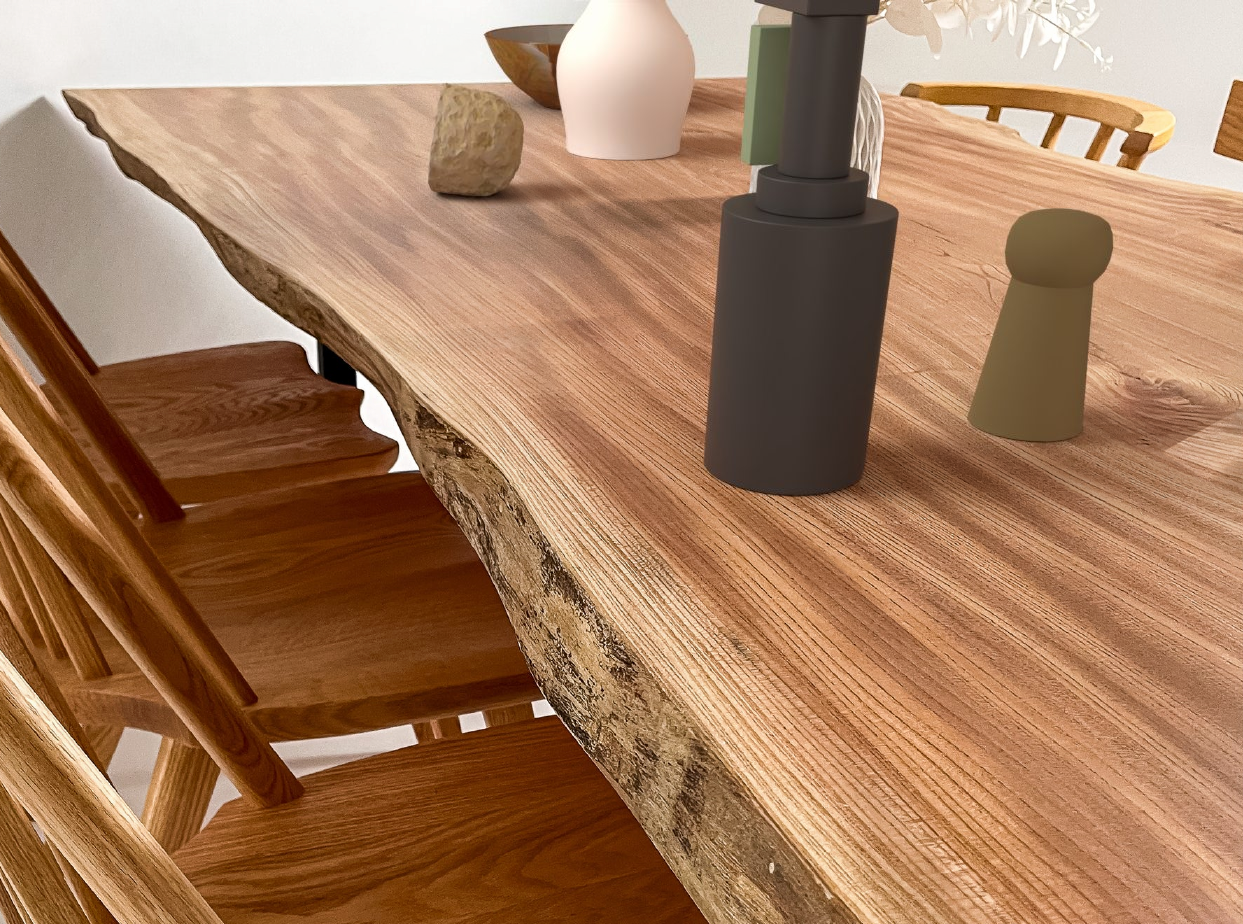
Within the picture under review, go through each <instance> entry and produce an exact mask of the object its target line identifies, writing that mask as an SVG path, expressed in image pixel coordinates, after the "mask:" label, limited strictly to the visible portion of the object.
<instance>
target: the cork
mask: <svg viewBox="0 0 1243 924" xmlns="http://www.w3.org/2000/svg"><path fill="white" fill-rule="evenodd" d="M1113 233H1114V232H1113V230H1112V227H1111V225H1110V223H1109V221H1107V220H1106V219H1105V218H1103V217H1102V216H1100V215H1097V214H1094V213H1090V212H1088V211H1084V210H1080V209H1073V208H1063V207H1062V208H1060V207H1059V208H1058V207H1057V208H1056V207H1054V208H1053V207H1052V208H1043V209H1042V208H1041V209H1036V210H1035V209H1034V210H1031V211H1029V212H1026V213H1024V214H1022V215H1020V216H1018V218H1017V219H1016V220H1015V222H1014V223H1013V224H1012V225H1011V227H1010V230H1009V232H1008V234H1007V237H1006V242H1005V249H1004V260H1005V266H1006V267H1007V270H1008V272H1009V273H1010V276H1011V277H1010V279H1009V283H1008V287H1007V290H1006V293H1005V296H1004V299H1003V302H1002V305H1001V309H1000V312H999V314H998V318H997V321H996V324H995V328H994V331H993V333H992V337H991V340H990V343H989V347H988V350H987V352H986V356H985V360H984V363H983V366H982V368H981V372H980V376H979V379H978V381H977V385H976V388H975V391H974V395H973V398H972V401H971V404H970V406H969V410H968V414H967V421H968V422H969V423H970V425H972V426H973V427H975V428H977V429H979V430H980V431H982V432H985V433H987V434H991V435H994V436H997V437H1002V438H1006V439H1011V440H1016V441H1017V440H1018V441H1027V442H1055V441H1057V442H1058V441H1064V440H1069V439H1072V438H1074V437H1077V436H1079V435H1080V434H1081V432H1083V425H1084V413H1085V401H1086V387H1087V375H1088V363H1089V361H1088V359H1089V349H1090V336H1091V325H1092V324H1091V321H1092V310H1093V296H1094V284H1095V282H1096V281H1097V280H1098V279H1099V278H1100V277H1101V276H1102V275H1103V274H1104V273H1105V272H1106V270H1107V269H1108V266H1109V264H1110V262H1111V260H1112V255H1113V252H1114V234H1113Z"/></svg>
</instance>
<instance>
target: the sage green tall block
mask: <svg viewBox="0 0 1243 924" xmlns="http://www.w3.org/2000/svg"><path fill="white" fill-rule="evenodd" d="M790 32H791V23H788V24H786V23H785V24H751V25H750V33H749V47H748V57H747V58H748V59H747V72H746V74H747V75H746V83H745V84H746V85H745V86H746V87H745V97H744V98H745V99H744V111H743V124H742V125H743V126H742V137H741V148H740V149H741V150H740V162H742V163H745V164H746V165H748V166H770V165H776V164H779V153H780V142H781V131H782V120H783V109H784V98H785V87H786V76H787V65H788V54H789V43H790Z"/></svg>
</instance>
